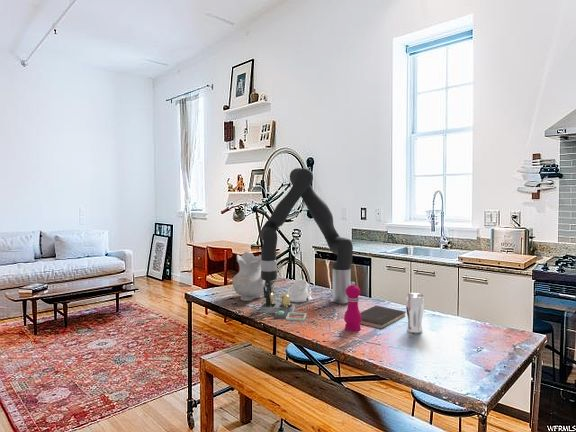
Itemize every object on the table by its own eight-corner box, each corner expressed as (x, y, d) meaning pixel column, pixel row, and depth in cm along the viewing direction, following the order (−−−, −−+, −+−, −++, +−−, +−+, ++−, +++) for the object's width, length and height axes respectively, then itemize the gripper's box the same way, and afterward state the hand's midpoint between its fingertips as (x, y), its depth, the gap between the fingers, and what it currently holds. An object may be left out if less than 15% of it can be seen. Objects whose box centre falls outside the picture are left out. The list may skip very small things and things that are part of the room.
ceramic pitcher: (279, 299, 217) (280, 253, 217) (257, 305, 200) (258, 255, 200) (247, 294, 228) (248, 250, 228) (224, 299, 212) (225, 252, 212)
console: (287, 317, 183) (287, 312, 183) (285, 321, 178) (285, 315, 178) (276, 317, 184) (276, 311, 184) (274, 320, 179) (274, 315, 179)
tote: (306, 317, 183) (306, 313, 183) (304, 323, 175) (304, 318, 175) (288, 316, 185) (288, 312, 184) (285, 322, 176) (285, 318, 176)
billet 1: (274, 306, 194) (274, 292, 193) (272, 308, 190) (272, 294, 189) (266, 306, 194) (265, 291, 194) (264, 308, 190) (264, 294, 190)
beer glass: (414, 335, 160) (415, 298, 159) (402, 329, 166) (402, 294, 165) (427, 332, 163) (427, 295, 162) (414, 327, 169) (415, 291, 168)
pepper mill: (363, 327, 170) (363, 280, 168) (359, 333, 163) (359, 284, 162) (347, 325, 173) (347, 279, 171) (341, 330, 166) (342, 282, 165)
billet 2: (290, 308, 192) (290, 294, 192) (289, 311, 188) (289, 296, 188) (282, 308, 193) (282, 294, 192) (280, 311, 189) (280, 296, 188)
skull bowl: (319, 296, 213) (311, 279, 207) (305, 315, 205) (296, 298, 199) (304, 293, 220) (296, 276, 214) (290, 311, 212) (281, 294, 206)
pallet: (295, 309, 195) (295, 303, 195) (292, 316, 185) (292, 309, 185) (263, 308, 198) (263, 301, 197) (258, 314, 188) (258, 307, 188)
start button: (284, 315, 182) (284, 310, 182) (283, 317, 179) (283, 312, 179) (278, 314, 183) (278, 310, 182) (277, 317, 180) (276, 312, 180)
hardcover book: (405, 316, 185) (406, 311, 185) (381, 330, 168) (381, 324, 168) (374, 309, 196) (374, 305, 195) (349, 322, 178) (349, 316, 178)
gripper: (273, 272, 183) (274, 309, 184) (279, 266, 197) (279, 300, 198) (257, 272, 184) (258, 308, 185) (264, 266, 198) (264, 300, 199)
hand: (269, 304), depth 192 cm, fingers closed on billet 1, 4 cm apart
